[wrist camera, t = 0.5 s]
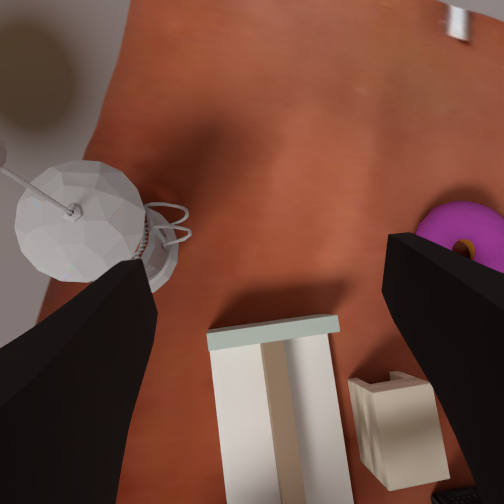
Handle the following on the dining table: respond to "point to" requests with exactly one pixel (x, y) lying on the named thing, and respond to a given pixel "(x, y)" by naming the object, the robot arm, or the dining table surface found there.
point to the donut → (467, 231)
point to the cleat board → (256, 426)
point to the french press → (92, 223)
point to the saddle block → (399, 431)
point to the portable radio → (458, 496)
